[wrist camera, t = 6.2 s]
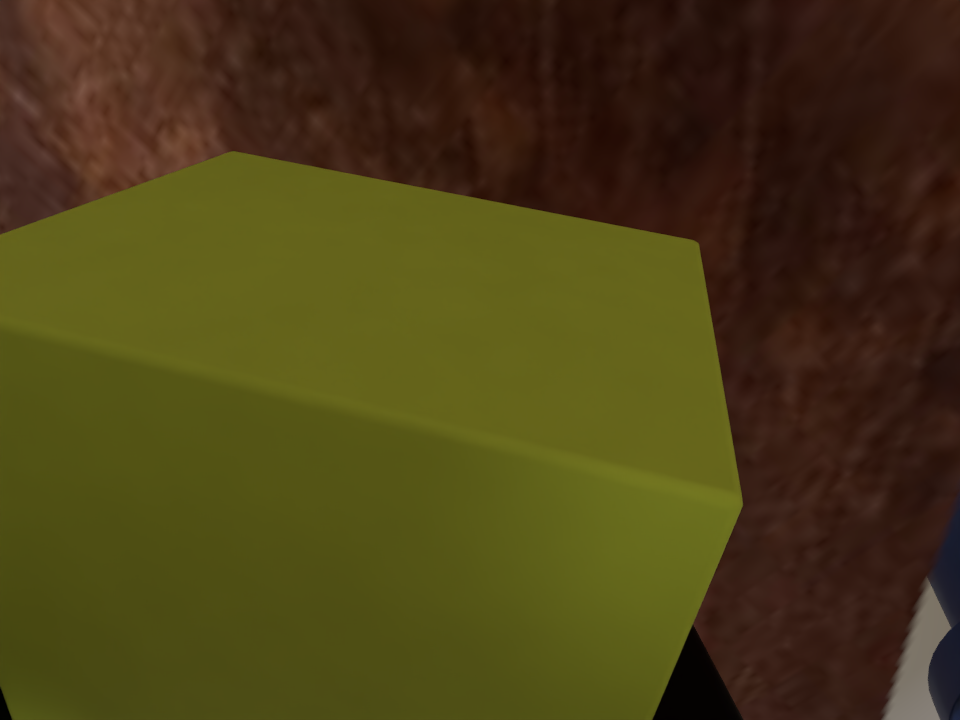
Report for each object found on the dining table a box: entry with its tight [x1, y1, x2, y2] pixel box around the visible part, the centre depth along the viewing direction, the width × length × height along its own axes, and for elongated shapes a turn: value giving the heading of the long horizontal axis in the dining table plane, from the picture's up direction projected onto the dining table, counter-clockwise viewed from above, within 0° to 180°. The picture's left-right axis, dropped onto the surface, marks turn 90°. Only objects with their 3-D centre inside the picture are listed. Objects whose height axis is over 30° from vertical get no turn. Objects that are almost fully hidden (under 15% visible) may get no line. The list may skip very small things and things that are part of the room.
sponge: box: [0, 151, 743, 720], centre depth 7 cm, size 5×7×4 cm
